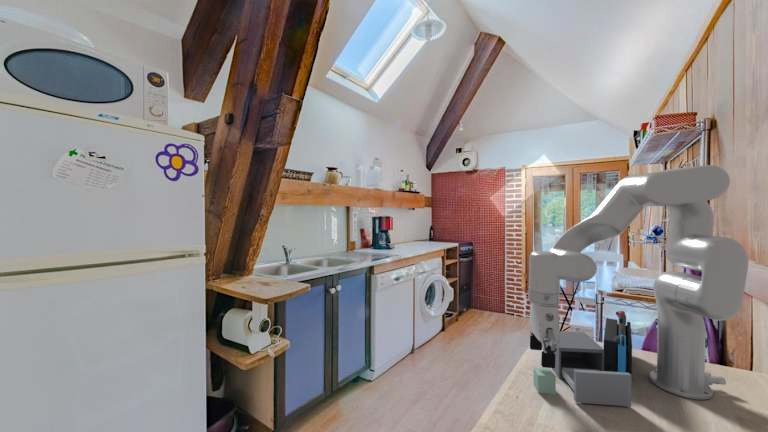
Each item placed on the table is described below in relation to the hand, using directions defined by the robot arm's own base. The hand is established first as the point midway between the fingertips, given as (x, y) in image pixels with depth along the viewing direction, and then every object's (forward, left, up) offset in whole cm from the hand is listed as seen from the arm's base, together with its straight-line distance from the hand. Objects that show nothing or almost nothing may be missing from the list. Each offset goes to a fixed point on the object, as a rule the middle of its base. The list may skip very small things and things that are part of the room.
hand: (541, 357), depth 85 cm
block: (-1, 0, -9) cm, 9 cm away
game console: (-26, -14, -9) cm, 31 cm away
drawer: (-13, -1, -8) cm, 15 cm away
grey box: (-13, -12, -9) cm, 20 cm away
